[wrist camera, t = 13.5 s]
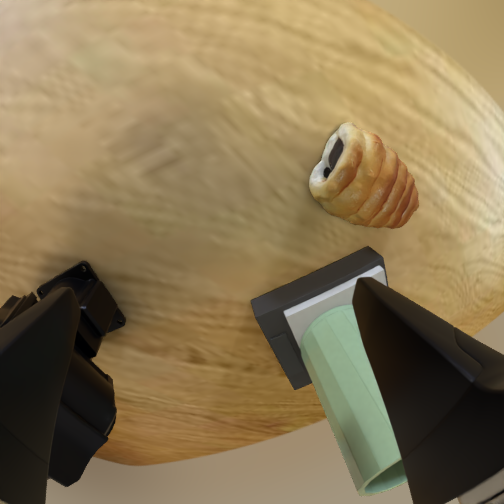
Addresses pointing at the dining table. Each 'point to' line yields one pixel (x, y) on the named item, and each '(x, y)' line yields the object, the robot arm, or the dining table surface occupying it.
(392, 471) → the cup
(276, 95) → the dining table surface
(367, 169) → the pastry
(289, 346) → the scale
